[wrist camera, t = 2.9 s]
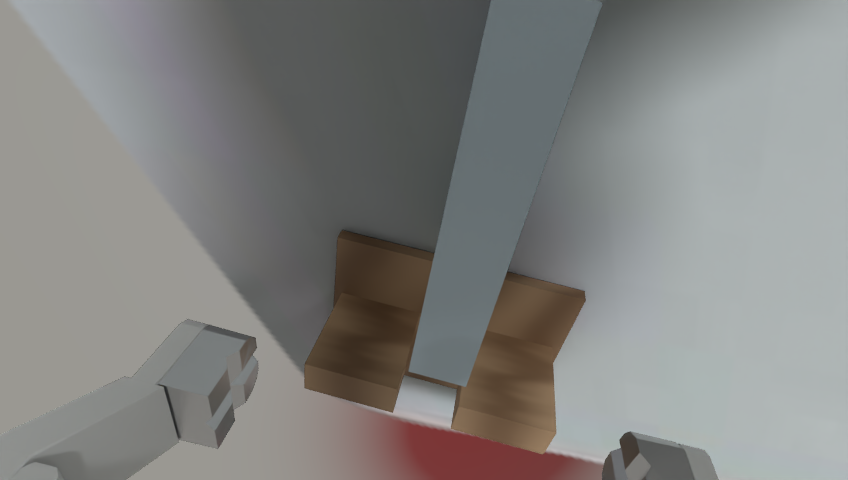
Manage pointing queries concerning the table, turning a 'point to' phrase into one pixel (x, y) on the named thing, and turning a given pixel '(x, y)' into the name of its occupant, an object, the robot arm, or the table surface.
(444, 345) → the slotted plate
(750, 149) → the table surface
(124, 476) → the robot arm
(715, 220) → the table surface
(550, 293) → the jig
